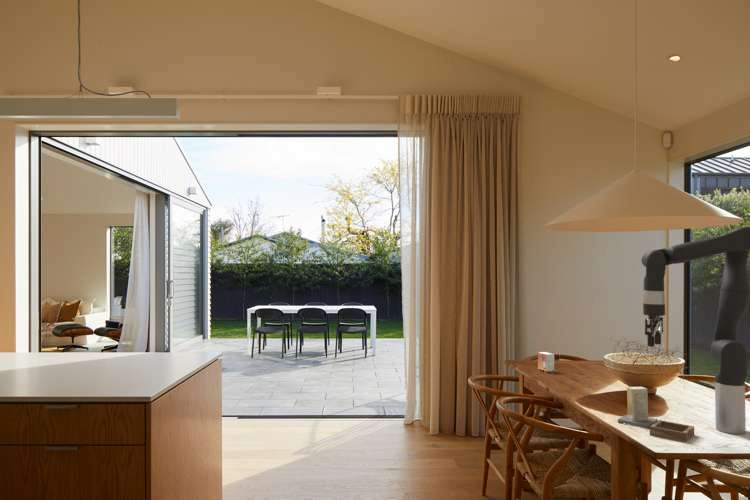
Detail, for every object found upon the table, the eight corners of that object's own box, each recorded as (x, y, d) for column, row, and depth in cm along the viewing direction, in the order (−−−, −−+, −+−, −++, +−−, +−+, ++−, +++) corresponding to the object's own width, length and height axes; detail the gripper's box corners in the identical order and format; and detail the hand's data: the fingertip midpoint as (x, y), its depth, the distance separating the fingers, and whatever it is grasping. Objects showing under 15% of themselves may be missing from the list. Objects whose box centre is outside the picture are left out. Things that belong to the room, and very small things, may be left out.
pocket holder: (659, 428, 199) (659, 420, 199) (694, 434, 191) (694, 426, 191) (649, 435, 191) (649, 426, 191) (685, 442, 183) (685, 433, 183)
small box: (537, 370, 311) (537, 352, 311) (546, 369, 313) (545, 351, 313) (546, 372, 303) (546, 354, 304) (554, 372, 305) (554, 353, 305)
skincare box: (643, 417, 208) (642, 386, 209) (648, 421, 204) (648, 388, 204) (626, 417, 208) (626, 386, 209) (632, 421, 204) (631, 388, 204)
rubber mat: (627, 416, 214) (627, 413, 214) (657, 422, 207) (657, 419, 207) (617, 422, 206) (617, 419, 206) (648, 428, 199) (648, 425, 199)
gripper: (659, 304, 197) (659, 348, 196) (670, 302, 207) (670, 344, 207) (637, 303, 202) (637, 346, 201) (649, 301, 212) (649, 342, 212)
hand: (654, 345), depth 204 cm, fingers open, 8 cm apart
